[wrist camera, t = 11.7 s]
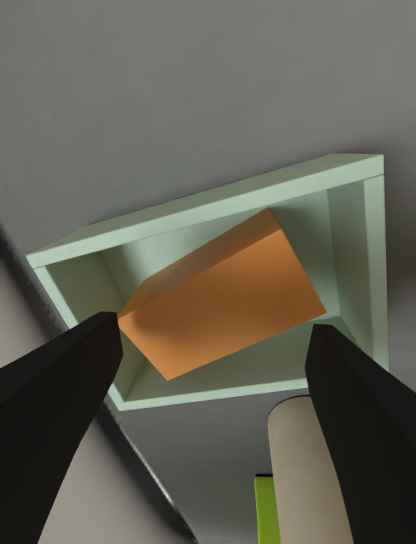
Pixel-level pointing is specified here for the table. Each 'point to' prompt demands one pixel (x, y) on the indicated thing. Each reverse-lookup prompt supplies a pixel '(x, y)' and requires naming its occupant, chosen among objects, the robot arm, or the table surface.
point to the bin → (210, 224)
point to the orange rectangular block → (221, 298)
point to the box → (266, 511)
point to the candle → (305, 477)
